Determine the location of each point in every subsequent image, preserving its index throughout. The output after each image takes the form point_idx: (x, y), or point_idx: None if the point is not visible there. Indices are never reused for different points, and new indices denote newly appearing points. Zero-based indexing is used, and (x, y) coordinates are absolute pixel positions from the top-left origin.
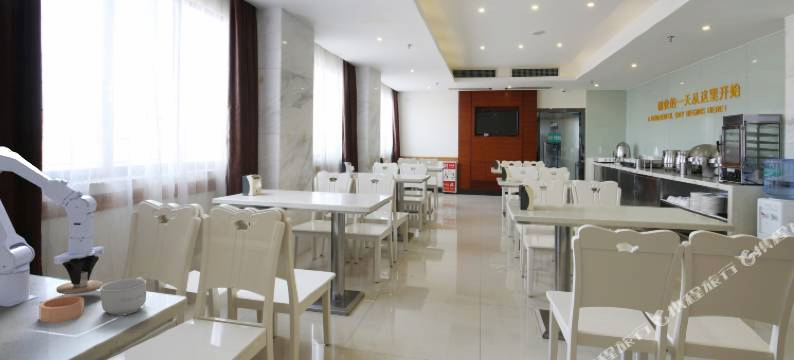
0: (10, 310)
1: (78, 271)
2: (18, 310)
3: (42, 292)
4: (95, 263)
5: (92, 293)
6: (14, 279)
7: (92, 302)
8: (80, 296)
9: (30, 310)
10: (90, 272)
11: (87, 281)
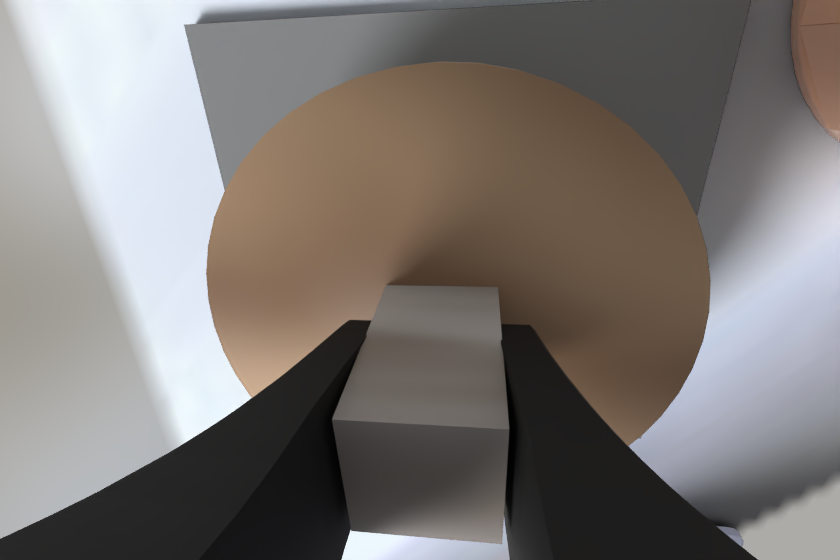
0: (793, 486)
1: (638, 479)
2: (793, 448)
3: (427, 550)
4: (64, 515)
5: None
6: None
7: (541, 14)
8: None
9: (791, 384)
10: (291, 387)
11: (377, 312)
